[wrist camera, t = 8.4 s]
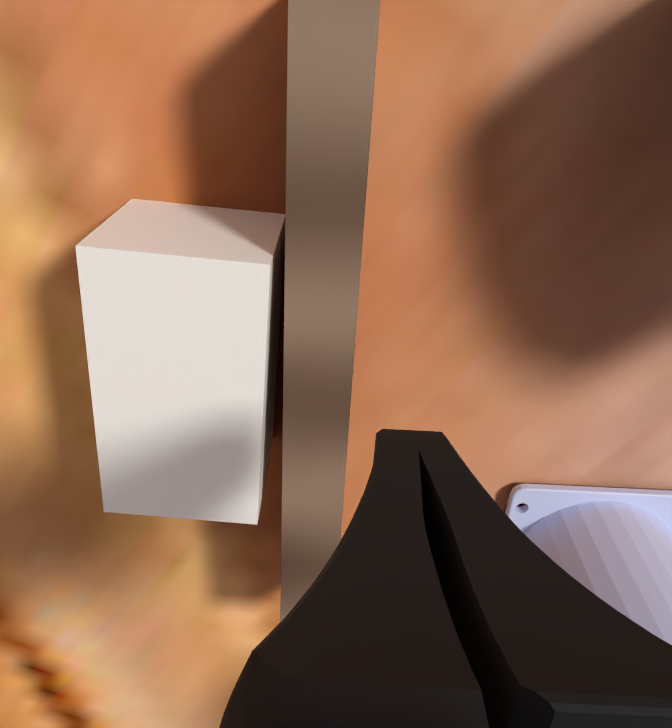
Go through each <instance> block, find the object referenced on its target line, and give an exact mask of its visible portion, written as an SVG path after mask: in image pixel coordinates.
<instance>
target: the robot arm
mask: <svg viewBox="0 0 672 728" xmlns="http://www.w3.org/2000/svg"><path fill="white" fill-rule="evenodd" d="M521 503H525V504H524V505H523V506H519V507H518V506H517V505H519V504H521ZM220 728H672V491H670V490H649V489H628V488H608V487H587V486H566V485H545V484H519V485H516V486H515V487H514V488H512V490H511V492H510V495H509V499H508V504H507V508H506V512H505V513H504V512H503V510H502V509H501V508H500V507H499V506H498V505H497V504H496V502H495V501H494V500H493V499H492V497H491V496H490V495H489V494H488V493H487V491H486V490H485V489H484V488H483V486H482V485H481V484H480V483H479V482H478V480H477V479H476V478H475V476H474V475H473V474H472V472H471V471H470V470H469V468H468V467H467V466H466V464H465V463H464V462H463V460H462V459H461V458H460V456H459V455H458V453H457V452H456V451H455V449H454V448H453V446H452V445H451V443H450V442H449V441H448V439H447V438H446V436H445V435H444V434H443V433H442V432H434V431H413V430H393V429H382V430H380V431H379V432H377V433H376V441H375V451H374V461H373V467H372V471H371V474H370V477H369V480H368V482H367V485H366V488H365V491H364V494H363V496H362V498H361V501H360V503H359V505H358V507H357V509H356V512H355V514H354V516H353V518H352V520H351V522H350V524H349V526H348V528H347V530H346V532H345V534H344V536H343V537H342V539H341V541H340V543H339V544H338V546H337V548H336V549H335V551H334V553H333V554H332V556H331V557H330V559H329V560H328V562H327V563H326V565H325V566H324V568H323V570H322V571H321V573H320V574H319V575H318V577H317V578H316V580H315V581H314V582H313V584H312V585H311V586H310V588H309V589H308V590H307V591H306V592H305V594H304V595H303V596H302V597H301V599H300V600H299V601H298V602H297V604H296V605H295V606H294V607H293V609H292V610H291V611H290V612H289V613H288V615H287V616H286V617H285V618H284V619H283V620H282V621H281V622H280V623H279V624H278V625H277V626H276V627H275V628H274V629H273V630H272V632H271V633H270V634H269V635H268V636H267V637H266V638H265V639H264V640H263V641H262V642H261V643H260V644H259V645H258V646H257V647H256V648H255V649H254V650H253V651H252V653H251V655H250V657H249V659H248V661H247V663H246V665H245V667H244V669H243V671H242V673H241V675H240V677H239V679H238V681H237V683H236V685H235V687H234V690H233V692H232V694H231V696H230V699H229V701H228V704H227V706H226V709H225V712H224V715H223V717H222V721H221V724H220Z"/></svg>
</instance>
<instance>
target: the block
mask: <svg viewBox="0 0 672 728" xmlns="http://www.w3.org/2000/svg"><path fill="white" fill-rule="evenodd" d="M284 236H285V214H280V213H270V212H259V211H249V210H239V209H229V208H219V207H209V206H199V205H189V204H179V203H169V202H159V201H149V200H139V199H131V200H130V201H128V202H127V203H126V204H125V205H124V206H122V207H121V208H120V209H119V210H118V211H116V212H115V213H114V214H113V215H112V216H110V217H109V218H108V219H107V220H106V221H104V222H103V223H102V224H101V225H100V226H98V227H97V228H96V229H95V230H94V231H92V232H91V233H90V234H89V235H88V236H86V237H85V238H84V239H83V240H82V241H80V242H79V243H78V244H77V245H76V246H75V247H76V257H77V266H78V275H79V285H80V294H81V303H82V313H83V322H84V332H85V341H86V350H87V360H88V369H89V378H90V388H91V397H92V406H93V416H94V425H95V434H96V444H97V453H98V463H99V472H100V481H101V491H102V500H103V509H104V512H110V513H122V514H134V515H147V516H159V517H171V518H183V519H195V520H207V521H219V522H231V523H243V524H255V525H257V524H258V518H259V512H260V507H261V501H262V495H263V490H264V484H265V478H266V472H267V467H268V461H269V455H270V450H271V444H272V438H273V422H274V405H275V388H276V371H277V354H278V337H279V321H280V304H281V287H282V270H283V253H284Z"/></svg>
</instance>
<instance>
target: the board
mask: <svg viewBox="0 0 672 728" xmlns="http://www.w3.org/2000/svg"><path fill="white" fill-rule="evenodd" d="M379 12H380V0H288V50H287V129H286V209H285V289H284V368H283V448H282V528H281V607H280V622H281V621H282V620H283V619H284V618H285V617H286V616H287V615H288V613H289V612H290V611H291V610H292V609H293V607H294V606H295V605H296V604H297V602H298V601H299V600H300V599H301V597H302V596H303V595H304V594H305V592H306V591H307V590H308V589H309V588H310V586H311V585H312V584H313V582H314V581H315V580H316V578H317V577H318V575H319V574H320V573H321V571H322V570H323V568H324V566H325V565H326V563H327V562H328V560H329V559H330V557H331V556H332V554H333V553H334V551H335V549H336V548H337V546H338V544H339V543H340V538H341V524H342V511H343V497H344V484H345V470H346V457H347V443H348V430H349V416H350V403H351V389H352V376H353V362H354V349H355V335H356V322H357V308H358V295H359V281H360V268H361V255H362V241H363V228H364V214H365V201H366V187H367V174H368V160H369V147H370V133H371V120H372V106H373V93H374V79H375V66H376V52H377V39H378V25H379Z"/></svg>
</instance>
